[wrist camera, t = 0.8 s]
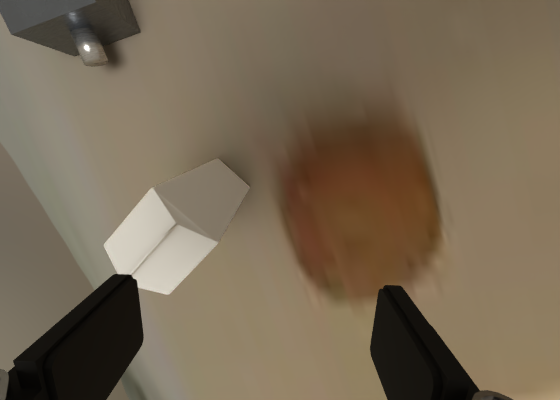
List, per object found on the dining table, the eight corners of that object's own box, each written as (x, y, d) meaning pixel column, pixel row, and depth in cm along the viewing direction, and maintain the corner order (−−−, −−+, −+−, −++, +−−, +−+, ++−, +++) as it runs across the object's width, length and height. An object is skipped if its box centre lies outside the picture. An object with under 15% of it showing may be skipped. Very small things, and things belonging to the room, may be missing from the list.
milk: (190, 188, 37) (65, 266, 16) (218, 156, 36) (122, 196, 15) (223, 217, 38) (146, 326, 17) (251, 187, 37) (206, 264, 16)
